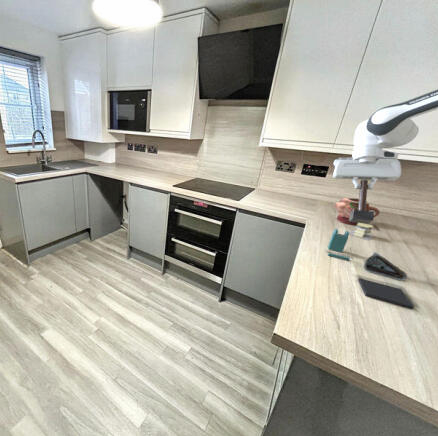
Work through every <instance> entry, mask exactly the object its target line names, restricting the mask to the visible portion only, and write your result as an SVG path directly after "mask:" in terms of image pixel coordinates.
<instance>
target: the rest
mask: <svg viewBox="0 0 438 436" xmlns="http://www.w3.org/2000/svg"><path fill="white" fill-rule="evenodd" d="M349 232H350V231H348V230H345V231H344V234H341V233H339V229H338V228H334V230H333V232H332V233H331V237H330V240H329V242H328V245H327V249H328V250H330V251H334V252H338V253H343V252H344V249H345V247H346V245H347V242H348V239H349V236H350V234H349ZM327 256H328V257H332V258H335V259H341V260H344V261H350V257H348V256H344V255H340V254H335V253H331V252H328V254H327Z"/></svg>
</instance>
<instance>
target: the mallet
mask: <svg viewBox="0 0 438 436" xmlns="http://www.w3.org/2000/svg"><path fill="white" fill-rule="evenodd" d="M359 184H361V188H360V189H359V192H358V194H359V195H358V199H359V204H358V210H353V211H352V212H351V213H350V218H349V222H355V223H363V224H368V225H370V224H371V223H372V222H373V221H374V219H375V217H374V215H375V211H373V210H369V211H366V202H367V197H368V190H367V186H368V184H369V180H360V183H359Z"/></svg>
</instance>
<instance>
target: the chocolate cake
mask: <svg viewBox="0 0 438 436" xmlns="http://www.w3.org/2000/svg"><path fill="white" fill-rule="evenodd" d="M363 268H364V270H365V271H366V272H369V273H373V274H375V275H380V276H383V277H386V278H389V277H390V279H393V280H396V279H397V281H401V282H402V281H403V282H404V281H406V280H407V279H408V274H407V273H406V272H405V271H404V270H403V269H401V268H399V266H397V265H395V264H394V263H393V262H391V261H390V260H388V259H386V258H385V257H384V256H382V255H380V253H378V252H373V253H372V255H371V256H369V257H368V258H367V259H366V260H365V261H364V266H363Z"/></svg>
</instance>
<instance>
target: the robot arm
mask: <svg viewBox="0 0 438 436" xmlns="http://www.w3.org/2000/svg"><path fill="white" fill-rule="evenodd" d="M433 111H438V89H434V90H432V91H430V92H427V93H424V94H422V95H419V96H416V97H413V98H411V99H408V100H405V101H402V102H399V103H395V104H390V105H386V106H384V107H382V108H380V109H377V110H376V111H375V112H374V113H372V114H371V116H370V117H369V118H368V119H366V120H364V121H362V122H360V123H359V124H358V125H357V127H356V129H355V132H354V136H353V150H352V155H351V156H350V157H338V158H336V159H334V160H333V167H334V170H333V173H332V177H333V179H335V180H351V182H352V184H353V185H354V190H360V188H361V184H360V183H359V182H358V180H360V181H361V180H368V181H370V183H368V186H367V191H368V190H370V191H371V190H373V187H374V185H375V183H376V182H377V181H393V182H395V181H396V180H398V179H399V178H400V177H401V176H402V165H401V161H400V160H398V158H399V153H398V152H394V151H390V150H385V149H391V148H397V147H401V146H405V145H407V144H408V143H411V142H412V141H413V140H414V139H415V138H416V137H417V135H418V134H419V126H418V125H417V124H416V123H415V122H414V121H413V120H412V119H413V118H416V117H418V116H422V115H425V114H428V113H431V112H433Z"/></svg>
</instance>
